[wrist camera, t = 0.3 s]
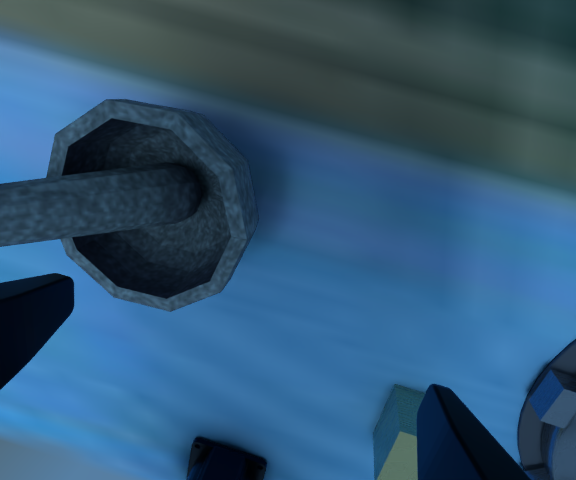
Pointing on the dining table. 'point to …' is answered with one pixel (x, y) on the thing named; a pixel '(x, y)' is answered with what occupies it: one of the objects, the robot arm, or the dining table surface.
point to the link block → (397, 436)
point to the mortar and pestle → (140, 203)
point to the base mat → (530, 427)
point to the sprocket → (556, 426)
